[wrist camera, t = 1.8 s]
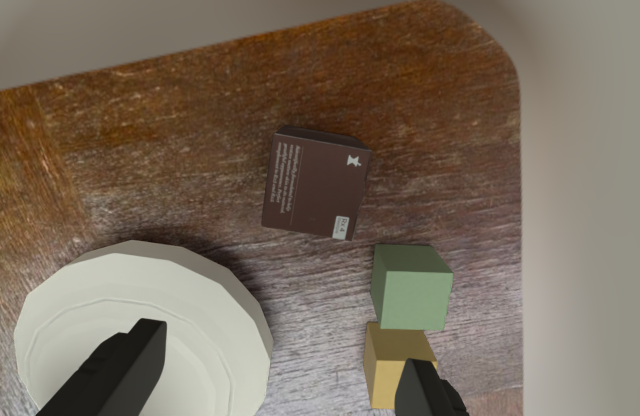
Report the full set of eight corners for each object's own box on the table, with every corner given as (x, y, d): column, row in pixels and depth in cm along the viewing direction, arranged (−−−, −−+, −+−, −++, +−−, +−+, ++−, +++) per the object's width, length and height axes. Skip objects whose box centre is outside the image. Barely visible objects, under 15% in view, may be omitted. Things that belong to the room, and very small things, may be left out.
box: (283, 122, 26) (272, 129, 19) (359, 137, 26) (375, 148, 19) (272, 196, 28) (258, 228, 21) (343, 209, 28) (353, 243, 21)
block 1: (431, 245, 29) (454, 273, 24) (423, 295, 31) (443, 330, 26) (374, 243, 29) (386, 271, 24) (370, 293, 31) (380, 328, 26)
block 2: (419, 323, 32) (438, 362, 27) (412, 366, 33) (429, 410, 28) (367, 321, 31) (376, 360, 27) (362, 364, 33) (371, 408, 28)
